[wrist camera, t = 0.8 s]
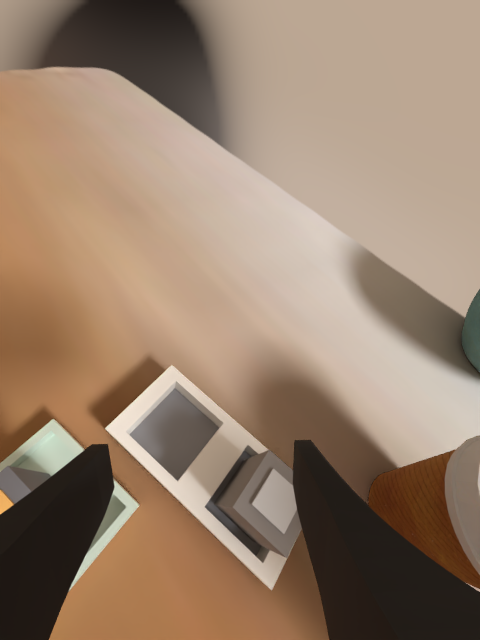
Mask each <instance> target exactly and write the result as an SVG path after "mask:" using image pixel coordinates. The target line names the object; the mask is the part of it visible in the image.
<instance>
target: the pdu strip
mask: <svg viewBox="0 0 480 640" xmlns="http://www.w3.org/2000/svg"><path fill="white" fill-rule="evenodd" d="M105 429H106V430H107V431H108V433H109V434H110V435H111V436H112V437H113V438H114V439H115V440H116V441H117V442H118V443H119V444H120V445H121V446H122V447H123V448H124V449H125V450H126V451H127V452H128V453H130V454H131V455H132V456H133V457H134V458H135V459H136V460H137V461H138V462H139V463H140V464H141V465H142V466H143V467H144V468H145V469H146V470H147V471H148V472H149V473H150V474H151V475H152V476H153V477H154V478H155V479H156V480H157V481H158V482H159V483H160V484H161V485H162V486H163V487H164V488H165V489H167V490H168V491H169V492H170V493H171V494H172V495H173V496H174V497H175V498H176V499H177V500H178V501H179V502H180V503H181V504H182V505H183V506H184V507H185V508H186V509H187V510H188V511H189V512H190V513H191V514H192V515H193V516H194V517H195V518H196V519H197V520H198V521H199V522H200V523H201V524H202V525H204V526H205V527H206V528H207V529H208V530H209V531H210V532H211V533H212V534H213V535H214V536H215V537H216V538H217V539H218V540H219V541H220V542H221V543H222V544H223V545H224V546H225V547H226V548H227V549H228V550H229V551H230V552H231V553H232V554H233V555H234V556H235V557H236V558H237V559H238V560H239V561H241V562H242V563H243V564H244V565H245V566H246V567H247V568H248V569H249V570H250V571H251V572H252V573H253V574H254V575H255V576H256V577H257V578H258V579H259V580H260V581H261V582H262V583H263V584H265V585H266V586H267V587H268V588H269V589H271V590H272V589H273V587H274V585H275V583H276V581H277V579H278V577H279V574H280V572H281V570H282V568H283V566H284V564H285V562H286V560H287V558H288V557H287V558H285V557H283V556H281V555H279V554H277V553H275V552H273V551H271V550H269V549H267V548H265V547H263V546H261V545H259V544H257V543H255V542H253V541H252V540H251V539H250V538H249V537H248V536H247V535H246V534H245V533H243V532H242V531H241V530H240V529H239V528H238V527H237V526H236V525H235V524H234V523H233V522H232V521H231V520H230V519H229V518H228V517H227V516H226V515H225V514H223V513H222V512H221V511H220V510H219V509H218V508H217V507H216V506H215V505H214V503H215V501H216V500H217V498H218V497H219V495H220V494H221V493H222V491H223V490H224V488H225V487H226V485H227V484H228V482H229V481H230V479H231V478H232V476H233V475H234V473H235V472H236V471H237V469H238V468H239V466H240V465H241V463H242V462H243V460H245V459H248V458H250V457H253V456H255V455H258V454H260V453H263V452H265V451H267V450H268V449H267V448H266V447H265V446H264V445H262V444H261V443H260V442H259V441H258V440H257V439H256V438H254V437H253V436H252V435H251V434H250V433H249V432H248V431H247V430H245V429H244V428H243V427H242V426H241V425H240V424H239V423H237V422H236V421H235V420H234V419H233V418H232V417H231V416H229V415H228V414H227V413H226V412H225V411H224V410H223V409H221V408H220V407H219V406H218V405H217V404H216V403H215V402H213V401H212V400H211V399H210V398H209V397H208V396H207V395H205V394H204V393H203V392H202V391H201V390H200V389H199V388H198V387H196V386H195V385H194V384H193V383H192V382H191V381H190V380H188V379H187V378H186V377H185V376H184V375H183V374H182V373H180V372H179V371H178V370H177V369H176V368H175V367H174V366H172V365H171V366H170V367H169V368H168V369H167V370H166V371H165V372H164V373H163V374H162V375H160V376H159V377H158V378H157V379H156V380H155V381H154V382H153V383H152V384H151V385H150V386H149V387H148V388H147V389H146V390H145V391H144V392H143V393H142V394H141V395H140V396H138V397H137V398H136V399H135V400H134V401H133V402H132V403H131V404H130V405H129V406H128V407H127V408H126V409H125V410H124V411H123V412H122V413H121V414H120V415H119V416H118V417H116V418H115V419H114V420H113V421H112V422H111V423H110V424H109V425H108V426H107V427H106V428H105ZM301 529H302V528H301ZM300 531H301V530H300ZM296 540H297V539H296ZM295 542H296V541H295ZM294 544H295V543H294ZM293 546H294V545H293ZM292 548H293V547H292ZM291 550H292V549H291ZM290 552H291V551H290ZM289 554H290V553H289ZM288 556H289V555H288Z"/></svg>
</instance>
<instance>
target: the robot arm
mask: <svg viewBox="0 0 480 640" xmlns="http://www.w3.org/2000/svg"><path fill="white" fill-rule="evenodd" d="M114 488H115V486H114V480H113V474H112V468H111V461H110V455H109V449H108V444H92V445H91V446H89V447H88V448H86V449H85V450H84V451H83V452H81V453H80V454H79V455H78V456H76V457H75V458H74V459H73V460H71V461H70V462H69V463H68V464H66V465H65V466H64V467H63V468H61V469H60V470H59V471H58V472H56V473H55V474H54V475H52V476H51V477H50V478H49V479H47V480H46V481H45V482H44V483H42V484H41V485H40V486H38V487H37V488H36V489H34V490H33V491H32V492H30V493H29V494H28V495H26V496H25V497H24V498H22V499H21V500H19V501H18V502H17V503H15V504H14V505H13V506H11V507H10V508H9V509H7V510H6V511H4V512H3V513H2V514H0V640H49V638H50V635H51V632H52V630H53V627H54V625H55V622H56V620H57V617H58V615H59V612H60V610H61V607H62V605H63V602H64V600H65V598H66V596H67V593H68V591H69V589H70V587H71V585H72V583H73V581H74V579H75V577H76V574H77V572H78V570H79V568H80V566H81V564H82V562H83V560H84V558H85V556H86V554H87V552H88V550H89V548H90V546H91V544H92V542H93V539H94V537H95V535H96V533H97V531H98V529H99V527H100V525H101V523H102V521H103V518H104V516H105V514H106V511H107V508H108V505H109V503H110V500H111V497H112V494H113V491H114ZM293 489H294V495H295V501H296V506H297V512H298V515H299V519H300V523H301V526H302V530H303V533H304V537H305V541H306V544H307V548H308V551H309V555H310V558H311V562H312V565H313V569H314V572H315V576H316V579H317V583H318V587H319V591H320V595H321V600H322V604H323V609H324V614H325V619H326V624H327V629H328V634H329V639H330V640H480V592H479V591H477V590H475V589H474V588H472V587H471V586H469V585H468V584H466V583H465V582H463V581H462V580H461V579H459V578H458V577H456V576H455V575H453V574H452V573H450V572H449V571H448V570H446V569H445V568H443V567H442V566H441V565H439V564H438V563H436V562H435V561H434V560H432V559H431V558H430V557H428V556H427V555H426V554H424V553H423V552H422V551H421V550H419V549H418V548H417V547H415V546H414V545H413V544H412V543H410V542H409V541H408V540H406V539H405V538H404V537H403V536H402V535H400V534H399V533H398V532H397V531H395V530H394V529H393V528H392V527H391V526H390V525H389V524H388V523H386V522H385V521H384V520H383V519H382V518H381V517H380V516H379V515H377V514H376V513H375V512H374V511H373V510H372V509H371V508H370V507H369V506H368V505H367V504H366V503H365V502H364V501H363V500H362V499H361V498H360V497H359V496H358V495H357V494H356V493H355V492H354V491H353V490H352V488H351V487H350V486H349V485H348V484H347V483H346V482H345V481H344V480H343V479H342V477H341V476H340V475H339V474H338V473H337V472H336V471H335V469H334V468H333V467H332V466H331V465H330V463H329V462H328V461H327V460H326V459H325V457H324V456H323V455H322V454H321V452H320V451H319V450H318V449H317V447H316V446H315V445H314V443H313V442H312V441H311V440H295V442H294V463H293Z"/></svg>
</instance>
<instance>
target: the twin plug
mask: <svg viewBox="0 0 480 640" xmlns="http://www.w3.org/2000/svg"><path fill="white" fill-rule="evenodd" d="M214 505H215V506H216V507H217V508H218V509H219V510H220V511H221V512H222V513H223V514H225V515H226V516H227V517H228V518H229V519H230V520H231V521H232V522H233V523H234V524H235V525H236V526H237V527H238V528H239V529H240V530H241V531H242V532H243V533H245V534H246V535H247V536H248V537H249V538H250V539H251V540H252V541H253V542H255V543H257V544H259V545H261V546H263V547H265V548H267V549H269V550H271V551H273V552H275V553H277V554H279V555H281V556H283V557H285V558H287V557H288V555H289V553H290V551H291V549H292V547H293V545H294V543H295V541H296V539H297V537H298V535H299V533H300V530H301V528H302V526H301V523H300V519H299V515H298V512H297V506H296V501H295V495H294V489H293V470H292V469H291V468H290V467H289V466H287V465H286V464H285V463H284V462H283V461H282V460H281V459H280V458H278V457H277V456H276V455H275V454H274V453H273V452H272V451H270V450H267V451H265V452H263V453H260V454H258V455H255V456H253V457H250V458H248V459H245V460H243V462H242V463H241V465H240V466H239V468H238V469H237V471H236V472H235V473H234V475H233V476H232V478H231V479H230V481H229V482H228V484H227V485H226V487H225V488H224V490H223V491H222V493H221V494H220V495H219V497H218V498H217V500H216V501H215V503H214Z"/></svg>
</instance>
